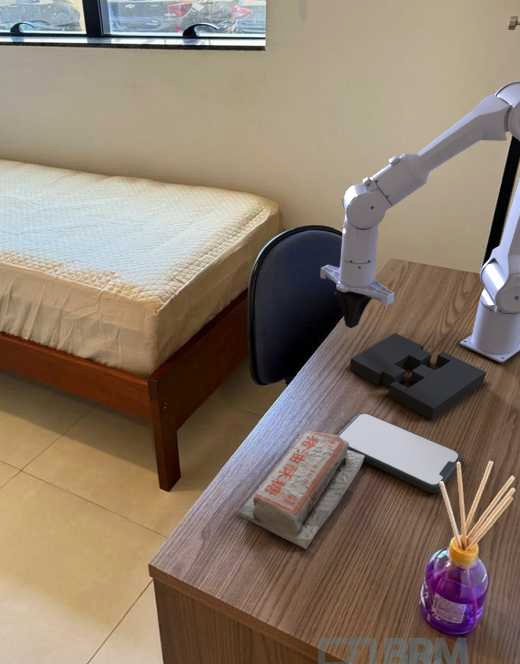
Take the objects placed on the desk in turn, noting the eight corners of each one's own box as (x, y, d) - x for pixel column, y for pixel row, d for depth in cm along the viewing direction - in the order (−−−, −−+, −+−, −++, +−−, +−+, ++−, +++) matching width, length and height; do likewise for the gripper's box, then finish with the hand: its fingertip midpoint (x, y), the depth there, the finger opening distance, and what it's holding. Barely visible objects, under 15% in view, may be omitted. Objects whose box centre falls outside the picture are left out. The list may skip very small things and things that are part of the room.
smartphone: (330, 448, 90) (436, 499, 80) (330, 440, 89) (438, 490, 80) (360, 417, 95) (463, 461, 86) (361, 409, 95) (465, 453, 85)
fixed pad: (440, 362, 106) (442, 351, 104) (483, 383, 100) (486, 371, 99) (388, 396, 99) (390, 384, 98) (431, 420, 93) (433, 408, 92)
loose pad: (393, 343, 111) (395, 332, 110) (433, 363, 106) (435, 351, 104) (349, 369, 106) (350, 358, 104) (388, 391, 100) (390, 380, 99)
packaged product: (308, 526, 72) (237, 492, 77) (307, 553, 75) (238, 518, 80) (367, 438, 84) (302, 413, 89) (364, 463, 87) (301, 438, 92)
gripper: (309, 250, 106) (306, 317, 113) (377, 278, 95) (369, 350, 103) (337, 238, 109) (332, 304, 116) (406, 264, 99) (396, 334, 106)
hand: (351, 325), depth 110 cm, fingers closed
